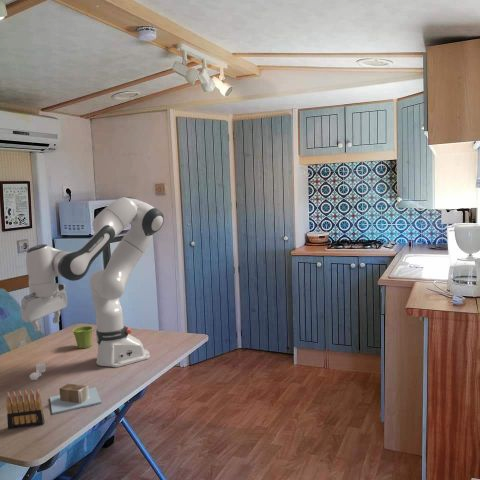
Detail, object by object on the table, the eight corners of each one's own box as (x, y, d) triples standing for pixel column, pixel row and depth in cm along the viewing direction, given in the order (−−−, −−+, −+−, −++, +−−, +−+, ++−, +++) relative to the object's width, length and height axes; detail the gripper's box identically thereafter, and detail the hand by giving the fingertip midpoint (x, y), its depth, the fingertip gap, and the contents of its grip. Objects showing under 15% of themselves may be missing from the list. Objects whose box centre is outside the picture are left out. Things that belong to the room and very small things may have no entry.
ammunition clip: (7, 429, 156) (3, 393, 155) (9, 426, 158) (5, 391, 157) (43, 424, 158) (39, 389, 157) (44, 422, 160) (40, 386, 158)
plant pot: (70, 347, 234) (68, 329, 233) (89, 342, 240) (87, 324, 239) (79, 351, 227) (77, 333, 226) (98, 346, 234) (96, 328, 233)
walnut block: (67, 383, 177) (88, 386, 174) (69, 395, 178) (89, 397, 175) (59, 388, 173) (80, 391, 170) (60, 400, 174) (81, 403, 171)
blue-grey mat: (95, 388, 184) (95, 387, 184) (101, 403, 171) (101, 401, 171) (50, 398, 178) (49, 396, 178) (52, 414, 165) (52, 412, 165)
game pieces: (38, 371, 206) (37, 363, 206) (46, 370, 207) (45, 363, 206) (29, 382, 195) (28, 374, 194) (38, 381, 195) (37, 373, 195)
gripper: (28, 297, 168) (33, 336, 170) (68, 283, 187) (72, 318, 189) (14, 297, 171) (19, 335, 172) (54, 283, 190) (59, 318, 191)
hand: (47, 326), depth 181 cm, fingers open, 8 cm apart
